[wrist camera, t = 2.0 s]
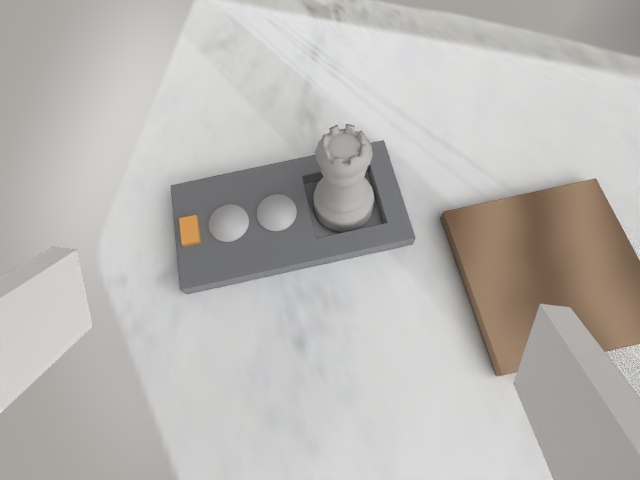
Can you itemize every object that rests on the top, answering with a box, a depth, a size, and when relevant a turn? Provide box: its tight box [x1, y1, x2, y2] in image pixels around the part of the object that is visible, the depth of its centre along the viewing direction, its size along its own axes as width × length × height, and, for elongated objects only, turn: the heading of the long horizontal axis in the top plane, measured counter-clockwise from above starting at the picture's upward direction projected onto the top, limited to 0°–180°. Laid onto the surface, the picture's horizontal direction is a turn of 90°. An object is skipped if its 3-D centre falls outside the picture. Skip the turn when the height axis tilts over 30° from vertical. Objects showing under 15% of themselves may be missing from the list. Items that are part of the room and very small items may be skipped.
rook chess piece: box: [313, 124, 375, 232], centre depth 26 cm, size 4×4×8 cm
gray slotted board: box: [171, 140, 415, 294], centre depth 29 cm, size 16×8×2 cm, turn 102°
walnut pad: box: [440, 179, 640, 376], centre depth 27 cm, size 11×11×1 cm
